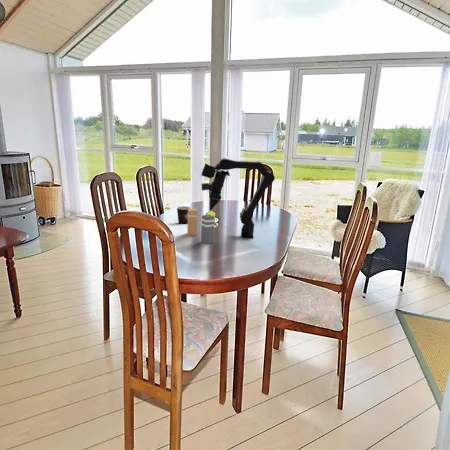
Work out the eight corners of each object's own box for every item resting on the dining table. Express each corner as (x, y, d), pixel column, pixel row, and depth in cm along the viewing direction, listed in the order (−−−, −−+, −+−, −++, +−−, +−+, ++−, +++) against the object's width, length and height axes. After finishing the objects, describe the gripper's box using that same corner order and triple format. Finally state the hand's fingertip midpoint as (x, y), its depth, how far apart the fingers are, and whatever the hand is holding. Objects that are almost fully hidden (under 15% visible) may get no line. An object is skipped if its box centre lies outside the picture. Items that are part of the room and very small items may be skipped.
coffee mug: (177, 225, 209) (177, 209, 206) (175, 221, 217) (176, 206, 214) (196, 225, 212) (196, 209, 209) (193, 221, 220) (194, 206, 217)
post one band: (195, 232, 191) (196, 208, 187) (196, 235, 187) (197, 210, 183) (187, 232, 190) (187, 208, 186) (187, 235, 186) (188, 210, 182)
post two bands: (207, 240, 180) (208, 214, 176) (213, 242, 177) (214, 216, 173) (200, 241, 177) (201, 215, 173) (205, 244, 174) (206, 217, 170)
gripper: (204, 174, 193) (196, 200, 197) (204, 179, 175) (196, 207, 179) (223, 180, 195) (215, 205, 199) (225, 185, 177) (216, 213, 181)
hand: (210, 207), depth 189 cm, fingers open, 9 cm apart
